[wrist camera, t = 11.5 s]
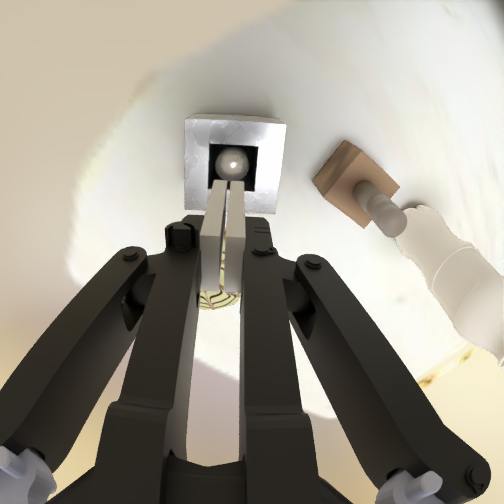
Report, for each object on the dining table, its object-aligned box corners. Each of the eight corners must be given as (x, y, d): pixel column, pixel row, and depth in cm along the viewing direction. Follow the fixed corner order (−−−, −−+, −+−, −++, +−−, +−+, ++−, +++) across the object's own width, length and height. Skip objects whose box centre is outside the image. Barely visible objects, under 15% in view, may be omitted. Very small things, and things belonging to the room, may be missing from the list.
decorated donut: (268, 257, 37) (271, 275, 34) (218, 306, 41) (216, 325, 38) (201, 209, 33) (197, 225, 30) (155, 268, 37) (148, 286, 34)
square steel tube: (193, 189, 29) (184, 209, 25) (194, 113, 25) (185, 119, 21) (270, 194, 30) (275, 214, 26) (278, 118, 26) (286, 124, 21)
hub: (225, 111, 27) (221, 118, 21) (273, 142, 29) (281, 157, 23) (194, 158, 29) (183, 176, 24) (241, 186, 31) (241, 210, 26)
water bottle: (395, 197, 32) (527, 351, 11) (437, 201, 33) (562, 331, 12) (383, 246, 36) (478, 407, 15) (424, 246, 37) (521, 384, 15)
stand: (344, 139, 29) (396, 173, 19) (380, 171, 31) (436, 217, 21) (311, 180, 31) (345, 232, 21) (349, 209, 33) (390, 267, 23)
